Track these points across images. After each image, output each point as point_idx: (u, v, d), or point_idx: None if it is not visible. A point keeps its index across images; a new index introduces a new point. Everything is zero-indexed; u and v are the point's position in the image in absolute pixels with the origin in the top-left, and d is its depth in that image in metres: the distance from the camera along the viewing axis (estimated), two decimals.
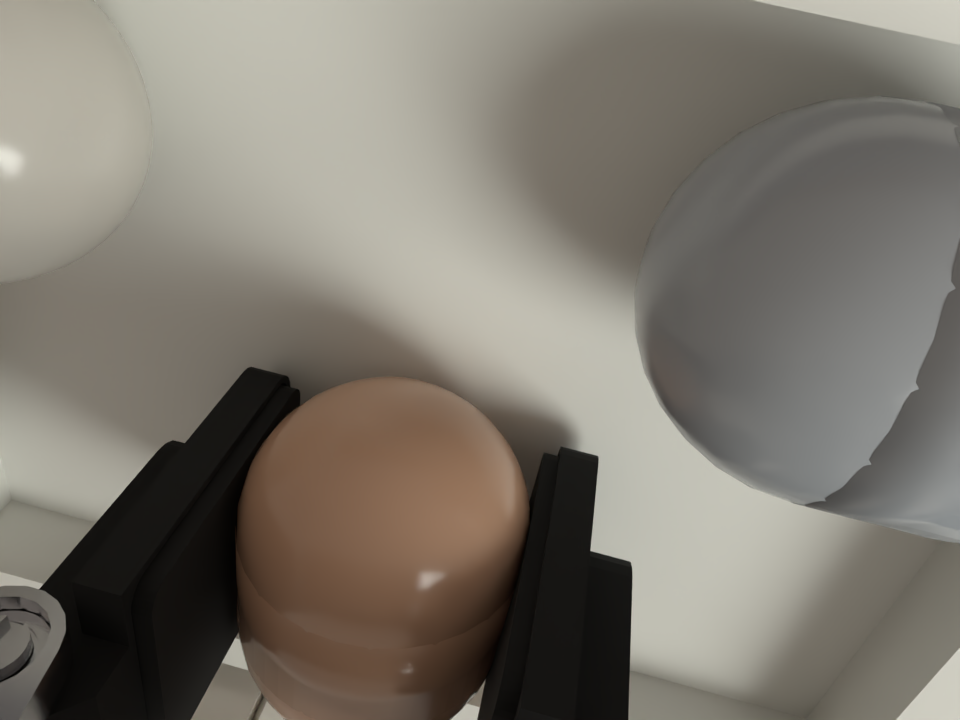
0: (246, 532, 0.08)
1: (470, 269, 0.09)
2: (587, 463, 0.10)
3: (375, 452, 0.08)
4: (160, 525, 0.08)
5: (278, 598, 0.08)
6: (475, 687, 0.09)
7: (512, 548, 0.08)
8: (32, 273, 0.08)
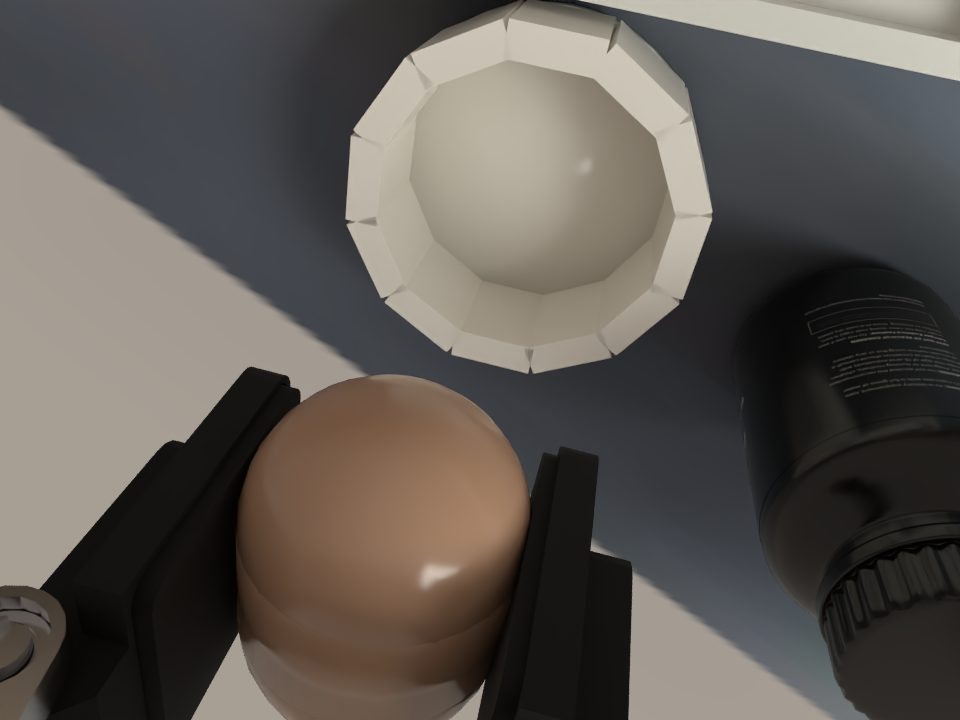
0: (246, 530, 0.08)
1: None
2: (587, 463, 0.10)
3: (376, 450, 0.08)
4: (160, 525, 0.08)
5: (278, 596, 0.08)
6: (476, 685, 0.09)
7: (513, 546, 0.08)
8: None
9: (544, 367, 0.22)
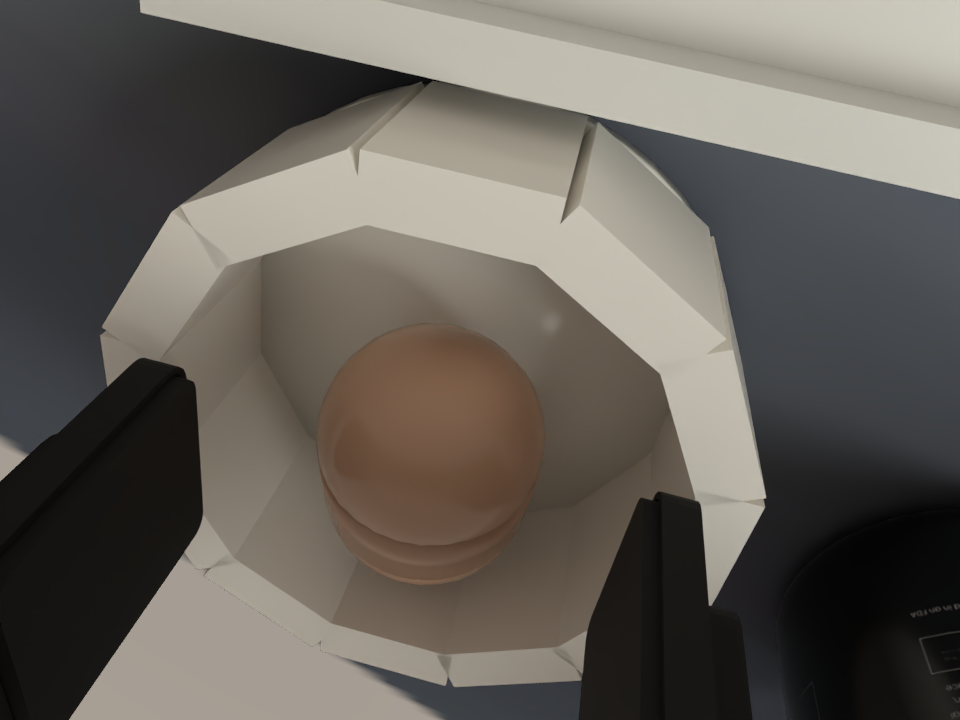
0: (325, 461, 0.11)
1: None
2: (690, 510, 0.09)
3: (417, 416, 0.10)
4: (14, 517, 0.07)
5: (353, 510, 0.11)
6: (503, 548, 0.13)
7: (527, 473, 0.11)
8: None
9: (471, 680, 0.14)
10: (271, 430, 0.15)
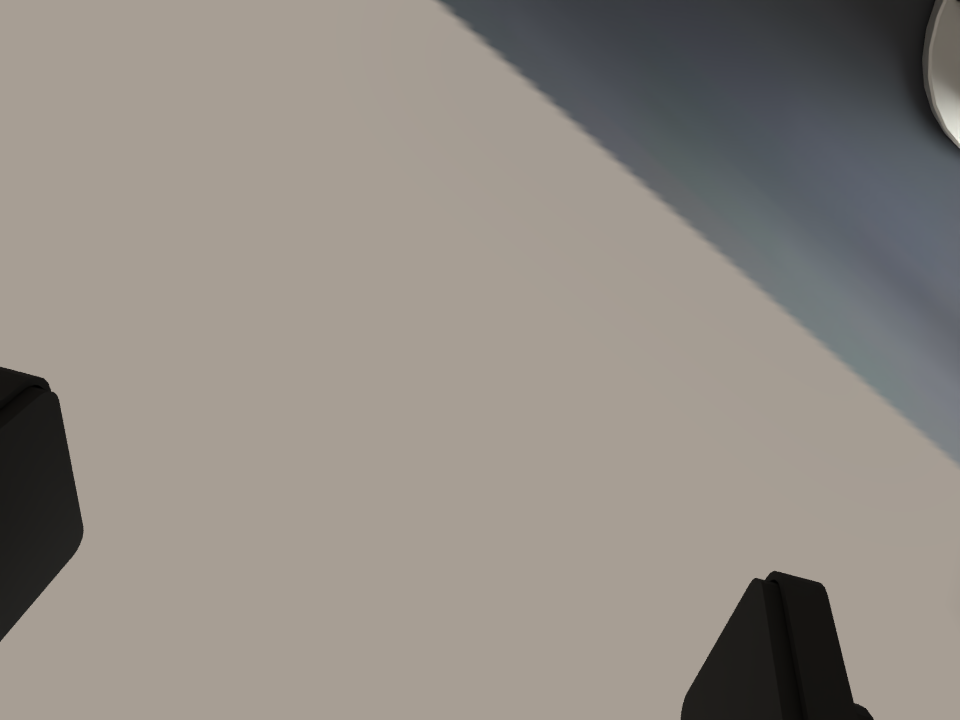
0: None
1: None
2: (816, 595, 0.08)
3: None
4: None
5: None
6: None
7: None
8: None
9: None
10: None
